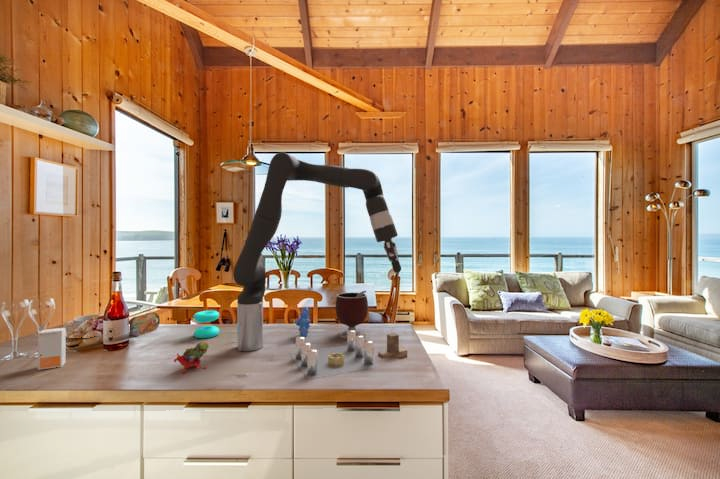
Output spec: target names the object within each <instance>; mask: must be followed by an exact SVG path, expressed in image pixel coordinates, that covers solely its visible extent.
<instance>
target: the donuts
mask: <svg viewBox="0 0 720 479" xmlns="http://www.w3.org/2000/svg"><path fill="white" fill-rule="evenodd" d="M219 317H220V312H218V311H217V310H203V311H197V312H196V313H194V315H193V319H194V321H196V322H198V323H211V322H214V321H217V319H219ZM219 333H220V328H219V327H217V326H216V325H203V326H200V327H198V328H196V329H195V330H194V332H193V336H194V337H195V338H197V339H210V338H214V337H216V336H218V335H219Z"/></svg>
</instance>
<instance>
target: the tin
mask: <svg viewBox="0 0 720 479" xmlns="http://www.w3.org/2000/svg"><path fill="white" fill-rule="evenodd" d="M128 322H129V324H130V334H131V335H130V334H129V335H130V336H132V337H134V336H135V337H140V336H139V335H141V336H143V335H146V334H149V333H152V332H154V331H156V330H157V329H158V327H159V325H160V322H161V319H160V316H159V314H158V313H157V312H155V311H153V312H146V313H143V314H140V315H136V316H133V317H132V318H130V319H129V321H128ZM151 331H152V332H151ZM148 332H149V333H148ZM145 333H146V334H145ZM142 334H143V335H142Z"/></svg>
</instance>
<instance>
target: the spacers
mask: <svg viewBox="0 0 720 479" xmlns="http://www.w3.org/2000/svg"><path fill="white" fill-rule="evenodd" d="M305 337H306V336H305ZM305 337H303V336H301V335H299V336H296V337H295V353H296V359H297V360H301V366H302V367H307V374H308V375H311V376H312V375H316V374H317V349H318V348H311V342H309V341H305V339H306V338H305ZM346 340H347V341H346V343H347V344H346V345H347V350H348V351H355V357H357V358H362V357H364V364H365V365H372V364H373V361H374V341H373V340H369V339H368V340H367V339H366V340H365V336H363V335H356V331H355V330H348V331H347V339H346Z"/></svg>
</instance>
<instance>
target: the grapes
mask: <svg viewBox="0 0 720 479" xmlns="http://www.w3.org/2000/svg"><path fill="white" fill-rule="evenodd" d="M310 314H311V311H310V310H309V309H308V307H307V306H305V307H303V308H302V310H301V312H300V314H299V317H298V318H296V319H295V321H294V323H295V325H296V326H297V327H299V328H298V331H299V336H303V337H306V336H307V335H308V334H309V333H310V331H309V328H310V327H311V325H310V324H311V317H310Z"/></svg>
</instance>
